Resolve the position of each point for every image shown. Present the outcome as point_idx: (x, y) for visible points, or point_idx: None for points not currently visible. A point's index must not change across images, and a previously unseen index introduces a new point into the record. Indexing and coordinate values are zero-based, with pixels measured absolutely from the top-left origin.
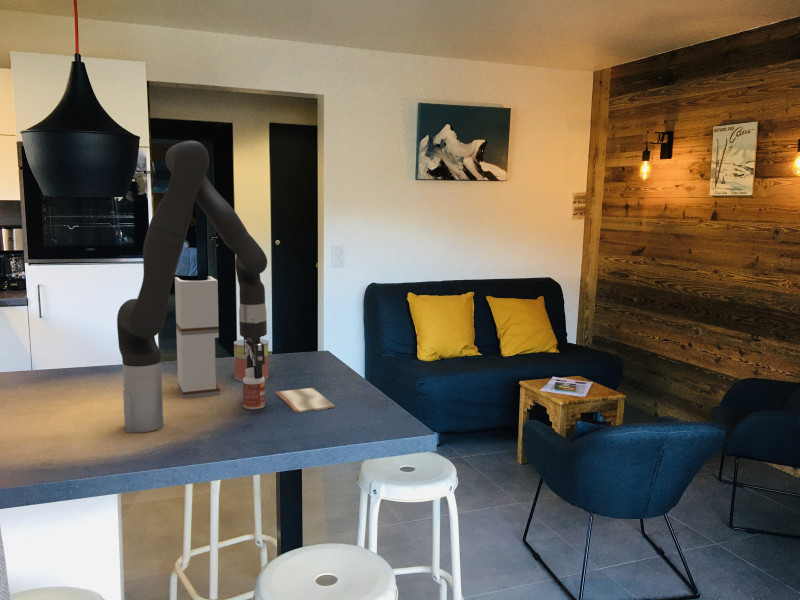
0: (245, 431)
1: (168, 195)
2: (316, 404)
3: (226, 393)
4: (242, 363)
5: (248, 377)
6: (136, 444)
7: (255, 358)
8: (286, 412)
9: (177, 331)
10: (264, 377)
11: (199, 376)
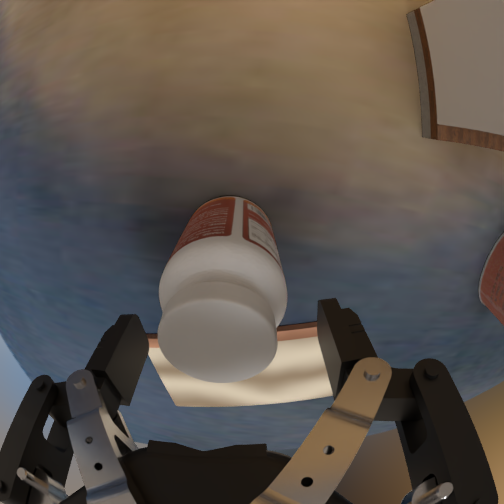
0: (18, 192)
1: None
2: (192, 385)
3: (429, 163)
4: None
5: (187, 284)
6: None
7: (26, 412)
8: (149, 317)
9: None
10: (482, 298)
11: (470, 55)
